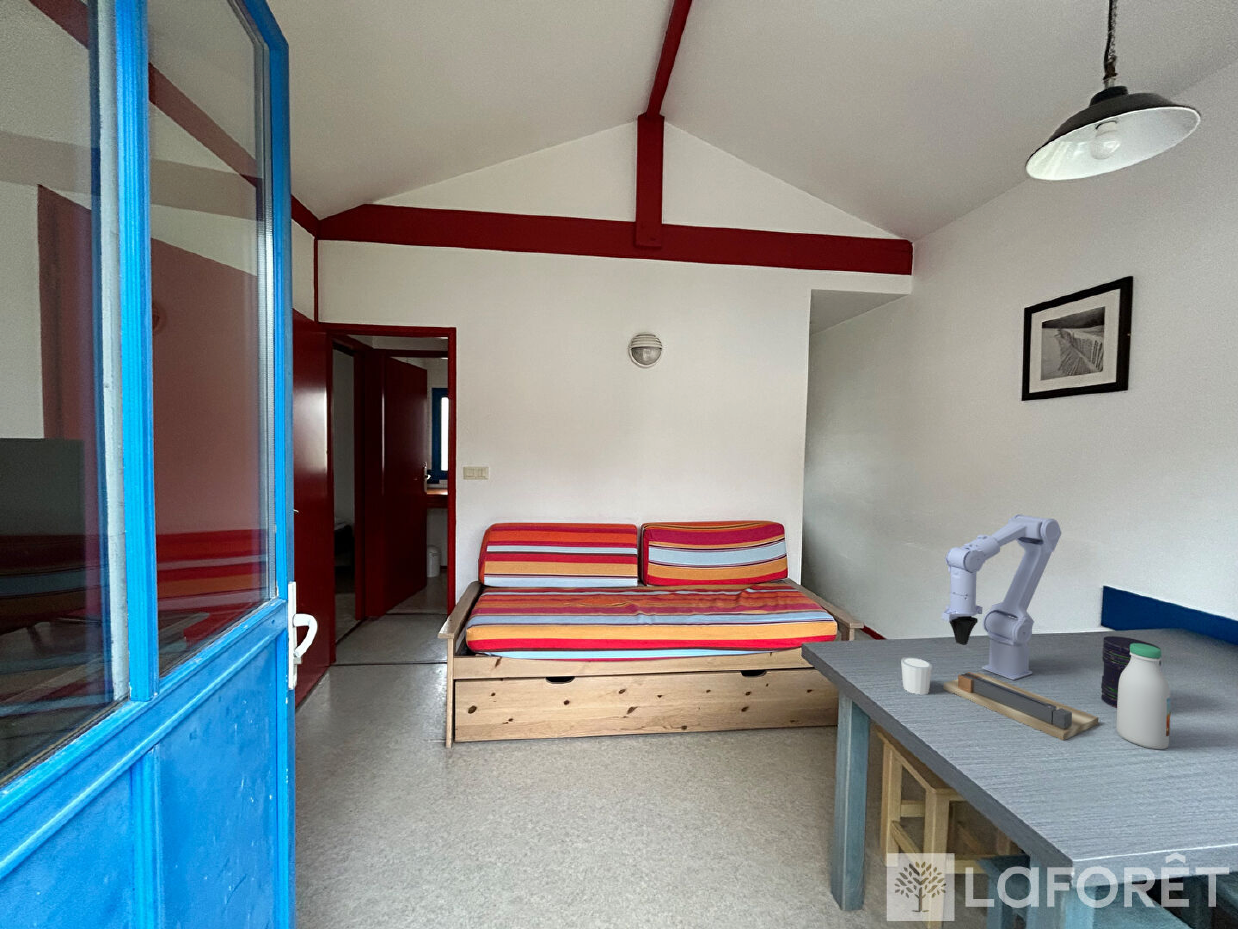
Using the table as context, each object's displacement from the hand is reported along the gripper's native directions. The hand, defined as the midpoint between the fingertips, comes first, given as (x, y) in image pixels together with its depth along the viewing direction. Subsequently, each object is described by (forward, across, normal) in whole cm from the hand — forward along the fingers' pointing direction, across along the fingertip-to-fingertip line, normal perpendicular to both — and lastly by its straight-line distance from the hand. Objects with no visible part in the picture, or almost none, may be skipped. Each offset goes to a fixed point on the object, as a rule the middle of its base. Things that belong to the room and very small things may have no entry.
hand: (961, 643), depth 135 cm
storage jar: (+10, -22, +26) cm, 35 cm away
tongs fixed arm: (+8, +8, +16) cm, 19 cm away
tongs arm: (+8, +6, +14) cm, 18 cm away
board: (+9, +3, +14) cm, 18 cm away
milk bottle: (+10, -5, +34) cm, 36 cm away
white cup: (+10, +17, -1) cm, 20 cm away
